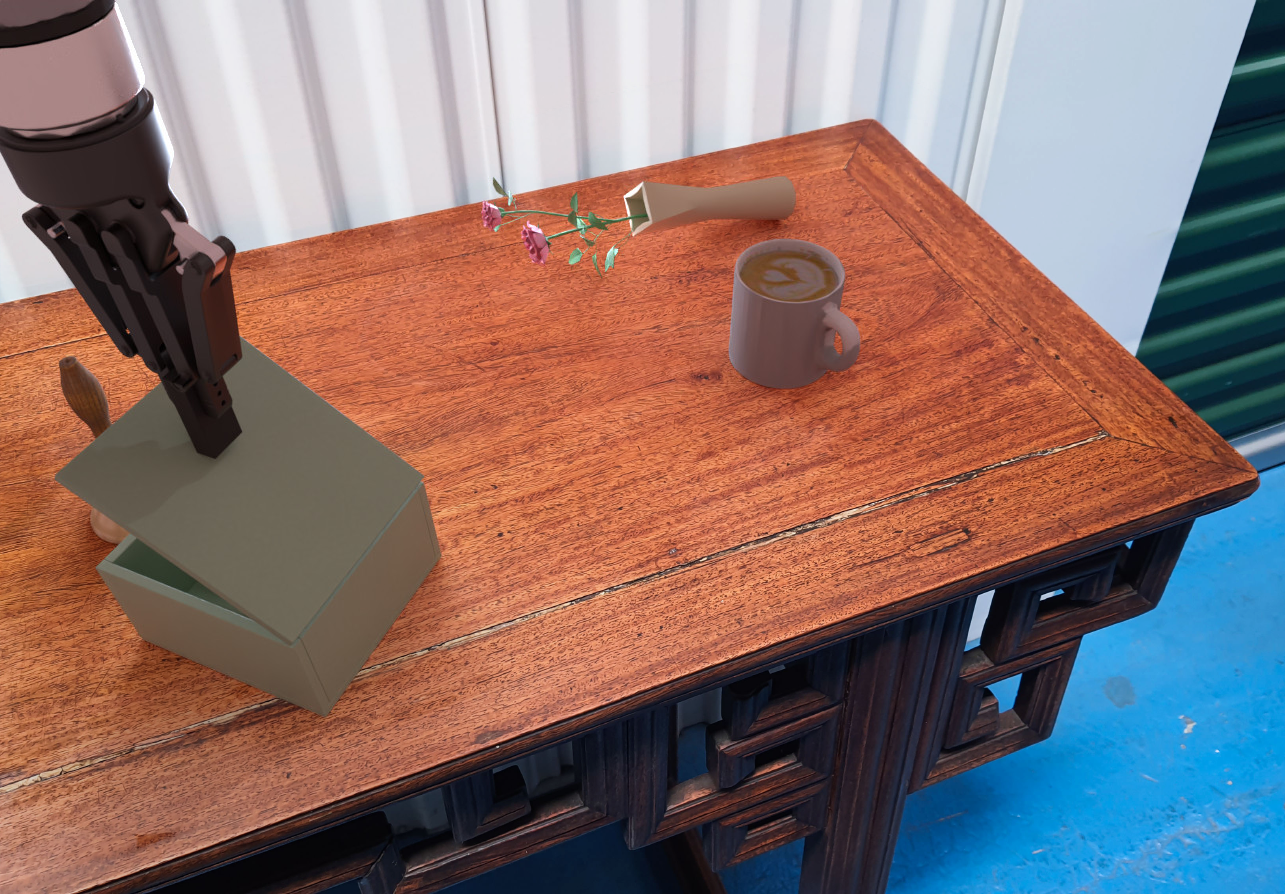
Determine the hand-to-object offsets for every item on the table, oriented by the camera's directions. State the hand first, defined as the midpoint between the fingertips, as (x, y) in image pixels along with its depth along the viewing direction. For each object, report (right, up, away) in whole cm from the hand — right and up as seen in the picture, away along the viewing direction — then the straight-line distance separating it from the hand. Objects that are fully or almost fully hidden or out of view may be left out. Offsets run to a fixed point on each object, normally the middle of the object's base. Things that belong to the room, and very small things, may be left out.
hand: (219, 442), depth 65 cm
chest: (+1, -12, +12) cm, 17 cm away
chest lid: (+2, -3, +2) cm, 3 cm away
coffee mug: (+42, +8, +30) cm, 52 cm away
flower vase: (+28, +20, +43) cm, 56 cm away
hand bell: (-14, -5, +18) cm, 24 cm away
